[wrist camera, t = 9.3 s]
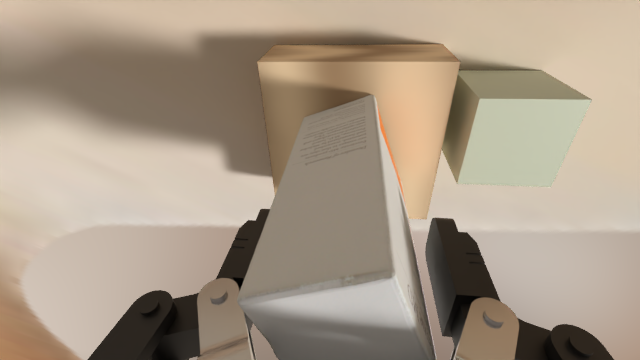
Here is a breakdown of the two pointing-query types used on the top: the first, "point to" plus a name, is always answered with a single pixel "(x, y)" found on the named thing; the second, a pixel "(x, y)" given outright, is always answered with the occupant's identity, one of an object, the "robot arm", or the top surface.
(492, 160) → the sage cube
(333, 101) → the block
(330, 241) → the skincare box
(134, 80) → the top surface
